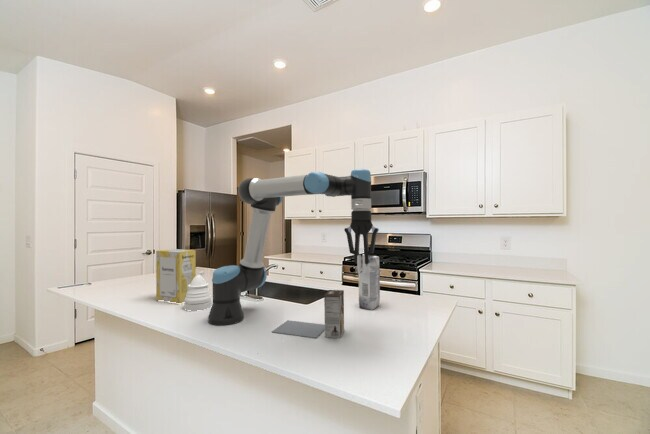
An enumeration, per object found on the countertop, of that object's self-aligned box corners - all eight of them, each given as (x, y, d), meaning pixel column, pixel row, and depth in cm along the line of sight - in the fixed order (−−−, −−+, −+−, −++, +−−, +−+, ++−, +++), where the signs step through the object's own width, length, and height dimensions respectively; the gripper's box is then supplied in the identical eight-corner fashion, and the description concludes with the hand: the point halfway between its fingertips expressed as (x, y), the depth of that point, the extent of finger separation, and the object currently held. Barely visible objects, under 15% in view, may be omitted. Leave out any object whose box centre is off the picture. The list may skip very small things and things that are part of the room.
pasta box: (156, 301, 165) (156, 250, 165) (172, 296, 175) (172, 249, 175) (179, 304, 158) (179, 252, 158) (195, 299, 168) (195, 250, 168)
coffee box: (328, 328, 121) (328, 289, 121) (344, 329, 120) (344, 290, 120) (324, 337, 112) (324, 295, 112) (341, 338, 111) (340, 295, 111)
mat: (271, 332, 118) (271, 331, 118) (287, 321, 131) (287, 320, 131) (316, 338, 111) (316, 337, 111) (328, 325, 124) (328, 325, 124)
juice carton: (381, 305, 153) (381, 253, 153) (373, 311, 144) (372, 255, 144) (365, 303, 158) (365, 252, 158) (356, 308, 149) (356, 254, 149)
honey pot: (202, 302, 161) (202, 269, 162) (216, 306, 154) (216, 271, 154) (179, 308, 151) (179, 273, 151) (193, 313, 143) (193, 275, 144)
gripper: (340, 210, 112) (340, 273, 112) (378, 209, 107) (379, 275, 107) (345, 210, 119) (346, 269, 119) (381, 210, 114) (382, 271, 114)
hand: (361, 272), depth 113 cm, fingers closed
